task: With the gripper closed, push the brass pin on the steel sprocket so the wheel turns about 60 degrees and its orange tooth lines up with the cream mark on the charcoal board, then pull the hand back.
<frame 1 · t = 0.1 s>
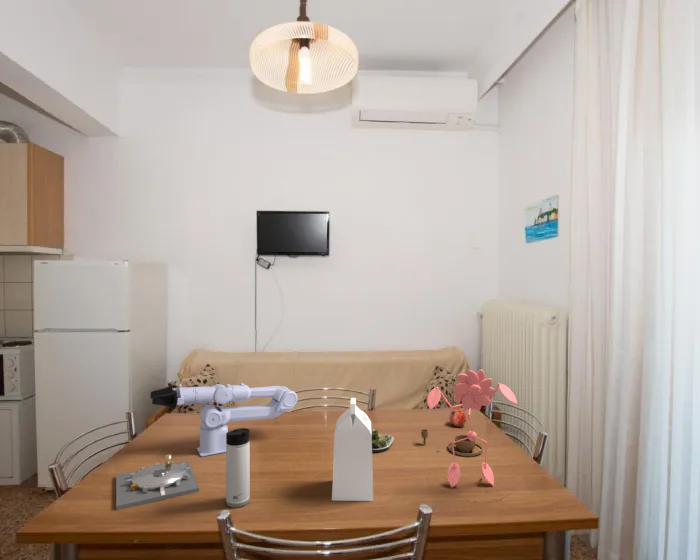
hand: (151, 397, 144), 22 cm above the table, tool horizontal, fingers open, 7 cm apart
figurine: (473, 490, 125), on the table
timing board: (156, 484, 129), on the table
travel mug: (238, 503, 118), on the table
sprocket: (159, 470, 130), point 3 cm above the table, hinge at 0.0°
place setting: (455, 449, 157), on the table
salad plate: (368, 445, 160), on the table
milk: (353, 490, 125), on the table
pomegranate: (458, 426, 180), on the table
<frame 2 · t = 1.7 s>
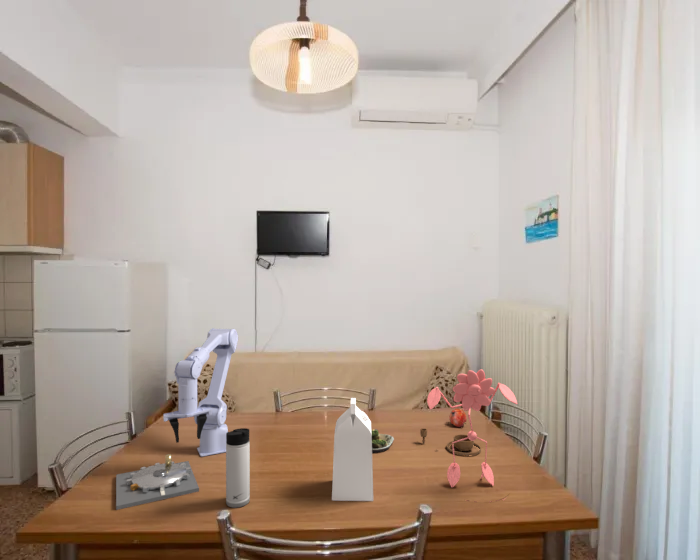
hand: (188, 439, 139), 9 cm above the table, tool pointing down, fingers open, 6 cm apart
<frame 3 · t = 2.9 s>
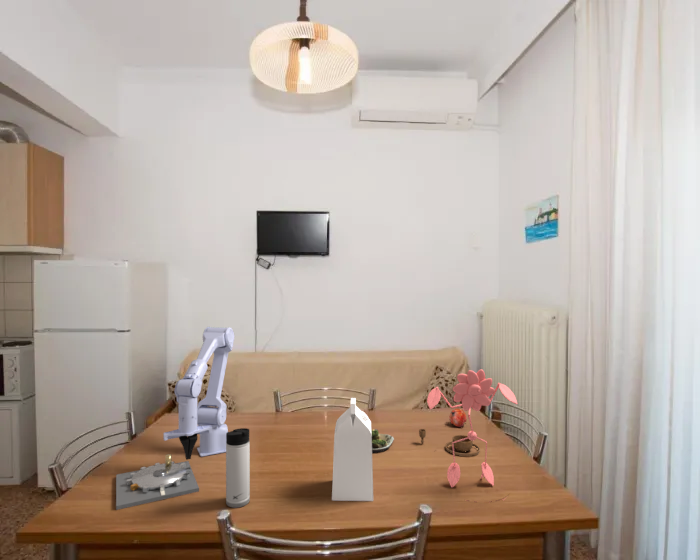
hand: (188, 458, 139), 3 cm above the table, tool pointing down, fingers closed
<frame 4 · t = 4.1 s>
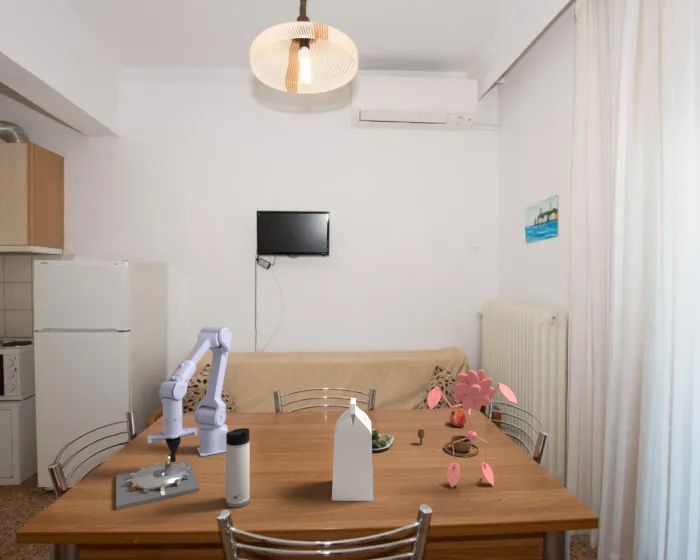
hand: (172, 461, 137), 3 cm above the table, tool pointing down, fingers closed, pressing on sprocket
sprocket: (159, 470, 130), point 3 cm above the table, hinge at 1.4°, touching gripper
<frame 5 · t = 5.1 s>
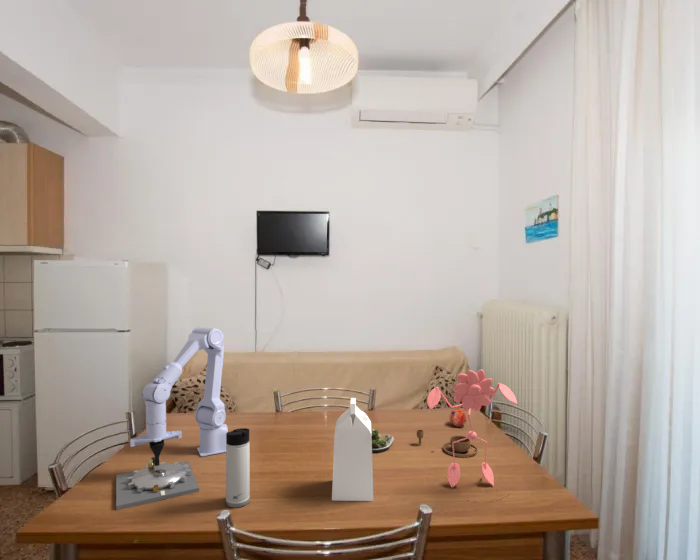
hand: (156, 464, 135), 3 cm above the table, tool pointing down, fingers closed
sprocket: (159, 470, 130), point 3 cm above the table, hinge at 48.7°, touching gripper
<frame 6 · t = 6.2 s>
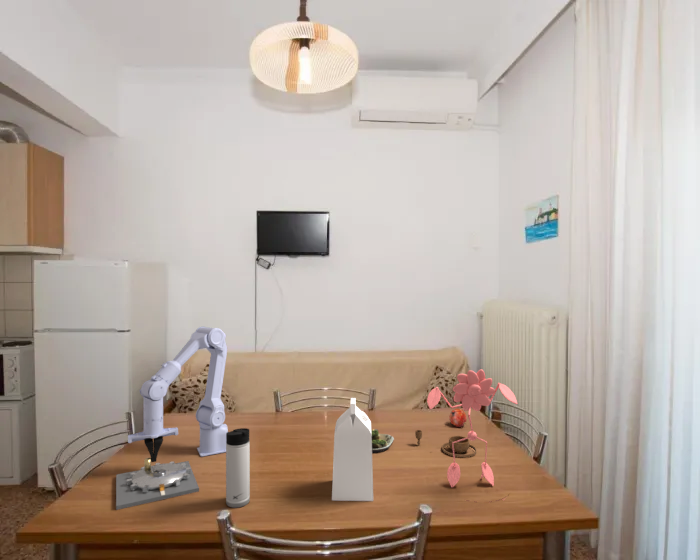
hand: (153, 460, 137), 3 cm above the table, tool pointing down, fingers closed
sprocket: (159, 470, 130), point 3 cm above the table, hinge at 59.5°
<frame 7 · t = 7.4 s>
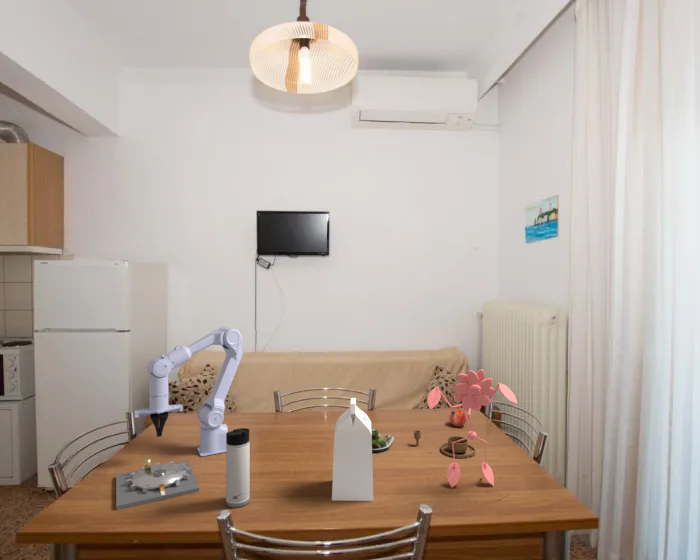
hand: (159, 435, 143), 9 cm above the table, tool pointing down, fingers closed
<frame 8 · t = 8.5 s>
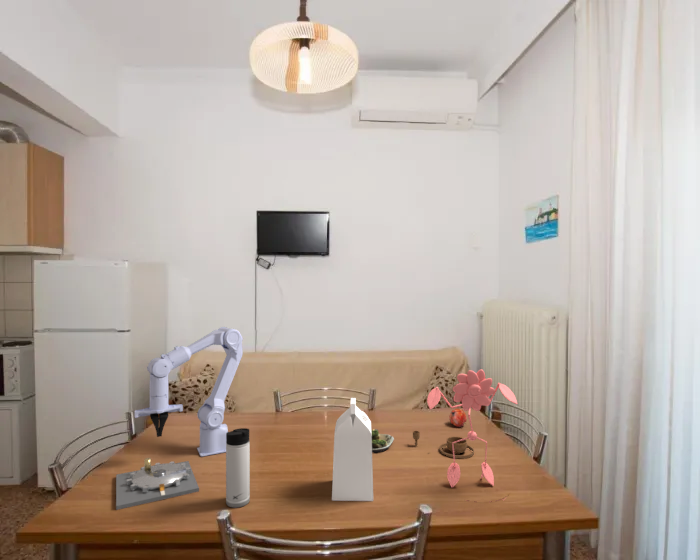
hand: (159, 435, 143), 9 cm above the table, tool pointing down, fingers closed
at the end: sprocket at +60° (first picture: +0°); travel mug moved 0.2 cm from its start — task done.
